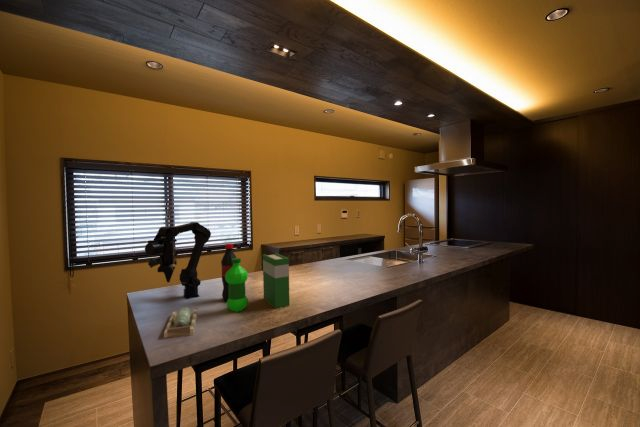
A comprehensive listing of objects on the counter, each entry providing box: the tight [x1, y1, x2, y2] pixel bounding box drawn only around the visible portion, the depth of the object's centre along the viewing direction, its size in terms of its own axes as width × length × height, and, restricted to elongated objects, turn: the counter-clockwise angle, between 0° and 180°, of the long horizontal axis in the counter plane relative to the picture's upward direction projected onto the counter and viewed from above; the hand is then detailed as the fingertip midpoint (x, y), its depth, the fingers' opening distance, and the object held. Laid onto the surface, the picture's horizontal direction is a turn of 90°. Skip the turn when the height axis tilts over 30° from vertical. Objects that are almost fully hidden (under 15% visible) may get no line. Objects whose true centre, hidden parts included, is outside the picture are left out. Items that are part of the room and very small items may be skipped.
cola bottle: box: [220, 243, 237, 302], centre depth 156 cm, size 8×8×30 cm
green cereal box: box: [262, 252, 290, 309], centre depth 152 cm, size 18×7×24 cm, turn 30°
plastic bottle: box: [225, 257, 249, 313], centre depth 141 cm, size 10×10×25 cm
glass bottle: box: [174, 306, 192, 327], centre depth 123 cm, size 6×6×14 cm
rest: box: [163, 308, 199, 339], centre depth 125 cm, size 24×10×4 cm, turn 19°
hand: (168, 282), depth 149 cm, fingers closed
